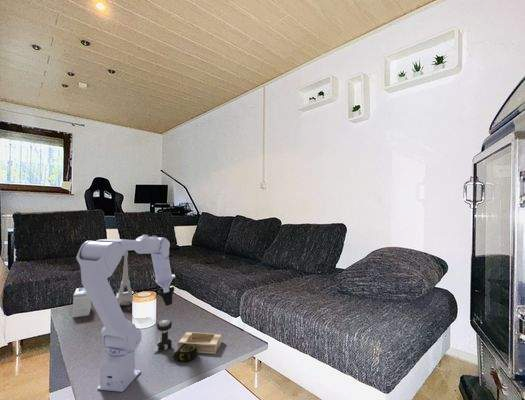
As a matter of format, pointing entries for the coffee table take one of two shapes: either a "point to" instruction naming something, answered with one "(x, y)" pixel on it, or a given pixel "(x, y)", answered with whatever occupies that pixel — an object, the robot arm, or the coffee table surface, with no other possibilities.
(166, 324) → the push button
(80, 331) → the coffee table surface
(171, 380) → the coffee table surface
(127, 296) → the eiffel tower
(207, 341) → the pocket block
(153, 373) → the coffee table surface
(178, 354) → the tape measure
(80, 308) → the light bulb box
